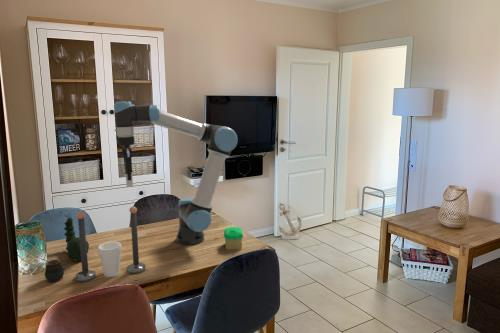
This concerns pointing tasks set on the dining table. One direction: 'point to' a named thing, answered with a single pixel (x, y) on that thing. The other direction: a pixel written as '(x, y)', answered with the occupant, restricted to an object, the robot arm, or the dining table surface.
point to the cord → (134, 236)
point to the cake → (233, 238)
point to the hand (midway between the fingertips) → (129, 186)
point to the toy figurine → (73, 241)
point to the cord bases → (92, 274)
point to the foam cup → (110, 258)
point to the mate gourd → (54, 270)
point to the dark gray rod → (82, 242)
